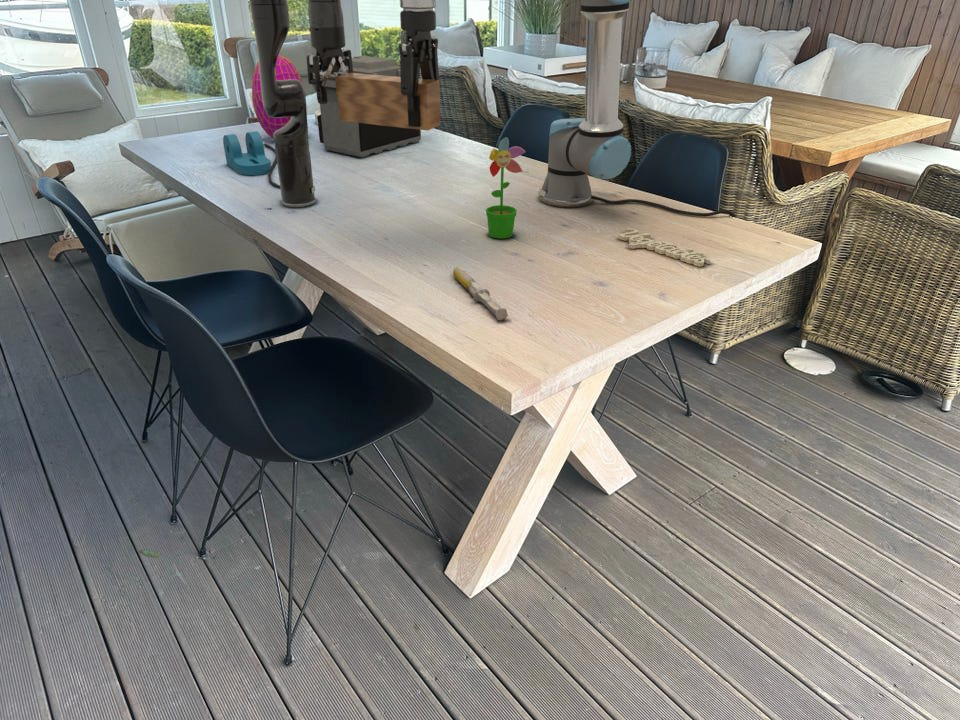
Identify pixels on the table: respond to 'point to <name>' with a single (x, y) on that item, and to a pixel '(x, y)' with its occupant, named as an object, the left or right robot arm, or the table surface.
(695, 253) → the decorative sign
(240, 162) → the camera mount
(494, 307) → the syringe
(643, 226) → the table surface
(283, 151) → the left robot arm
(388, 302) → the table surface
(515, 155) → the potted flower
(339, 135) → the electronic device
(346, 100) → the box
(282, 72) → the decorative egg
